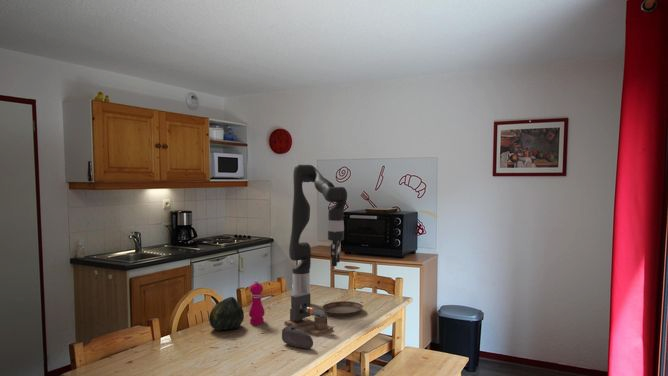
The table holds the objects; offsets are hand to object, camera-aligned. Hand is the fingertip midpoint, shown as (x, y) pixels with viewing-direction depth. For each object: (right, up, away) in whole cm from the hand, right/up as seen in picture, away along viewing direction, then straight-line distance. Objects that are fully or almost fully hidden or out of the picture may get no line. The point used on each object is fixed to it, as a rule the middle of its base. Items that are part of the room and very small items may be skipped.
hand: (335, 264), depth 206 cm
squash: (-49, -28, -6) cm, 57 cm away
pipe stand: (-12, -27, -7) cm, 31 cm away
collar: (-16, -24, -3) cm, 29 cm away
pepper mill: (-37, -28, +1) cm, 46 cm away
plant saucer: (+3, -27, +16) cm, 32 cm away
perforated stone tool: (-15, -28, -30) cm, 43 cm away
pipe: (-13, -21, -7) cm, 26 cm away
